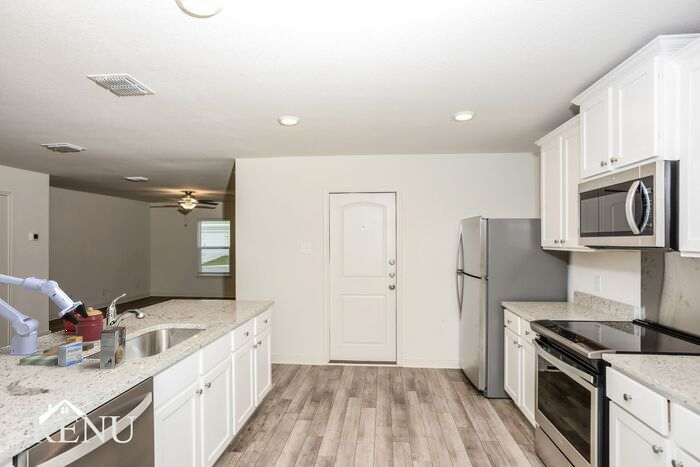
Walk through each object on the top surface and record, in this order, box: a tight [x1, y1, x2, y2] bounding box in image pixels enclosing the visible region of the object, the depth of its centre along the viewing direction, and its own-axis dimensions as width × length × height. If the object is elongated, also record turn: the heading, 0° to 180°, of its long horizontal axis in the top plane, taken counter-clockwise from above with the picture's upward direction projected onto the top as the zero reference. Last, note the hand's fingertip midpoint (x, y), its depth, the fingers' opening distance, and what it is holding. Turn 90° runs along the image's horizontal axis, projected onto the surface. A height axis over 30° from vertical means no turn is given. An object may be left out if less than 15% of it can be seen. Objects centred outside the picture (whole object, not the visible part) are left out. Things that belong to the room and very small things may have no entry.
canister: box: [74, 306, 105, 343], centre depth 206 cm, size 13×13×18 cm
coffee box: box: [99, 325, 127, 370], centre depth 163 cm, size 9×6×16 cm
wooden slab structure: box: [19, 342, 95, 366], centre depth 176 cm, size 15×26×2 cm, turn 1°
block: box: [66, 335, 83, 344], centre depth 186 cm, size 4×4×4 cm
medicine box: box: [57, 342, 83, 367], centre depth 165 cm, size 8×4×9 cm, turn 168°
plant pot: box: [62, 311, 78, 336], centre depth 218 cm, size 13×13×12 cm
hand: (82, 320), depth 188 cm, fingers open, 7 cm apart
